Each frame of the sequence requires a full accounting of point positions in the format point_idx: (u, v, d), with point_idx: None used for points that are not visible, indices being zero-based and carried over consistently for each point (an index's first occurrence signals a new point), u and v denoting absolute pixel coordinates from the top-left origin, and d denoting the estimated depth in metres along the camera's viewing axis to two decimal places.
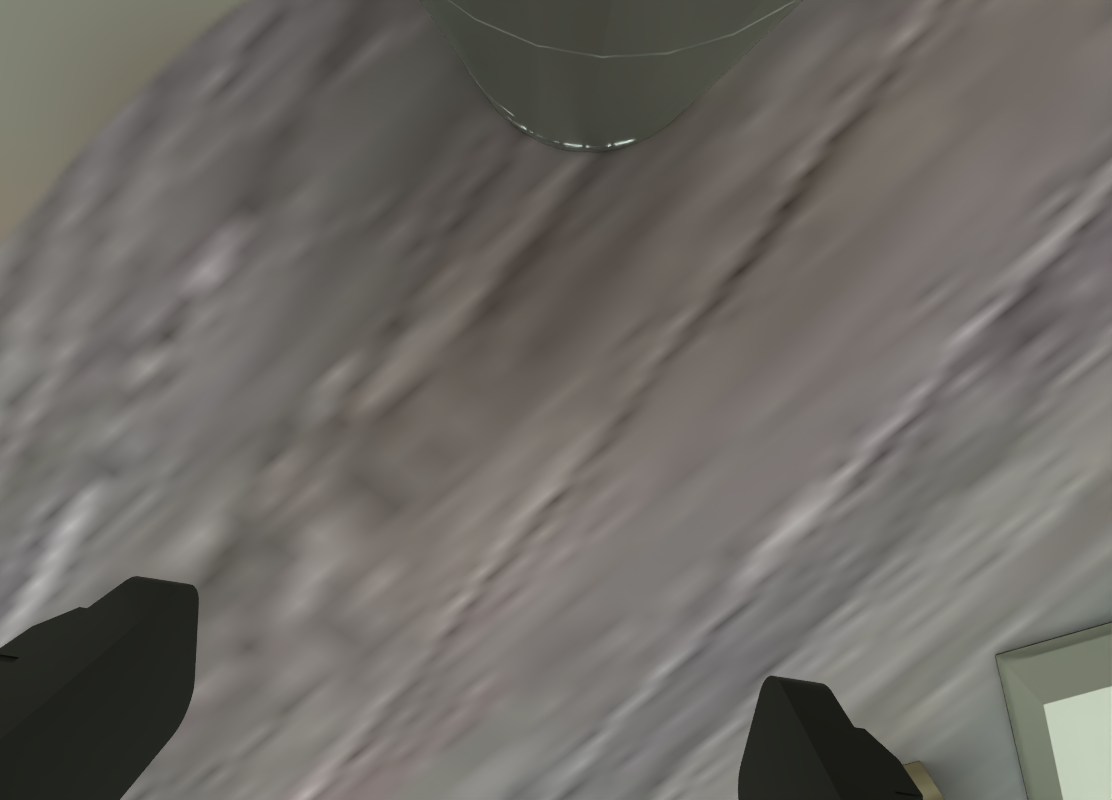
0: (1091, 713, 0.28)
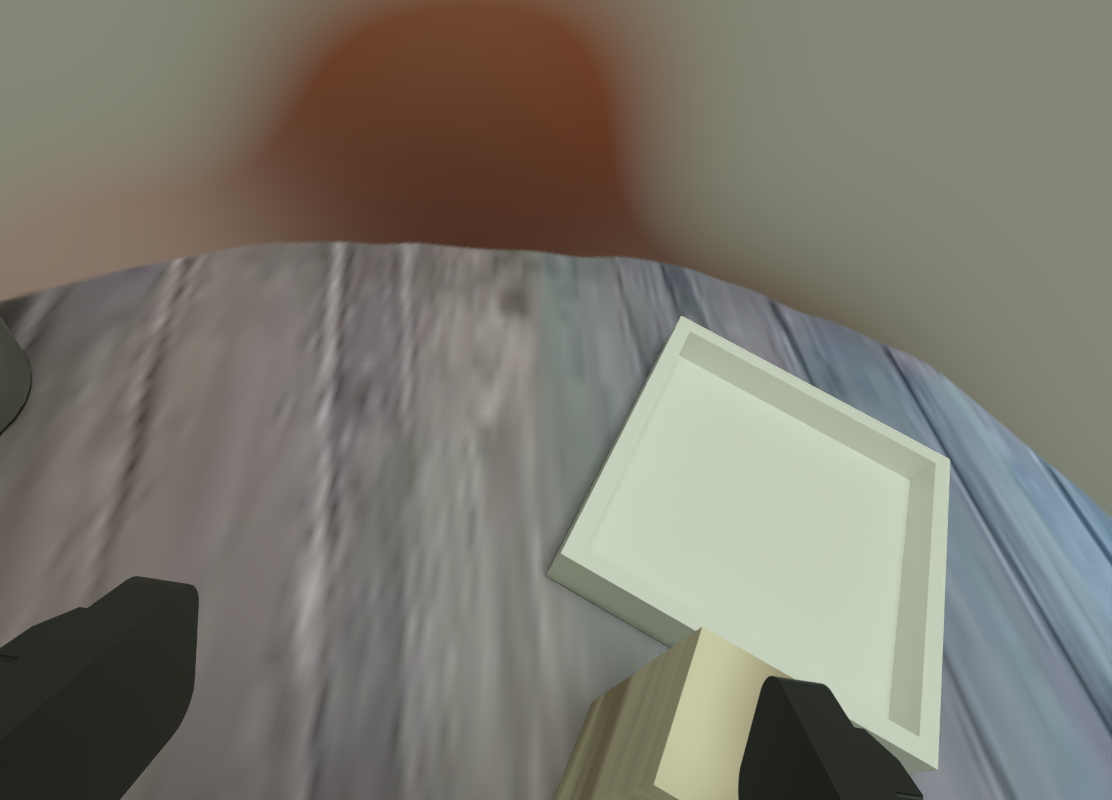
0: (635, 559, 0.34)
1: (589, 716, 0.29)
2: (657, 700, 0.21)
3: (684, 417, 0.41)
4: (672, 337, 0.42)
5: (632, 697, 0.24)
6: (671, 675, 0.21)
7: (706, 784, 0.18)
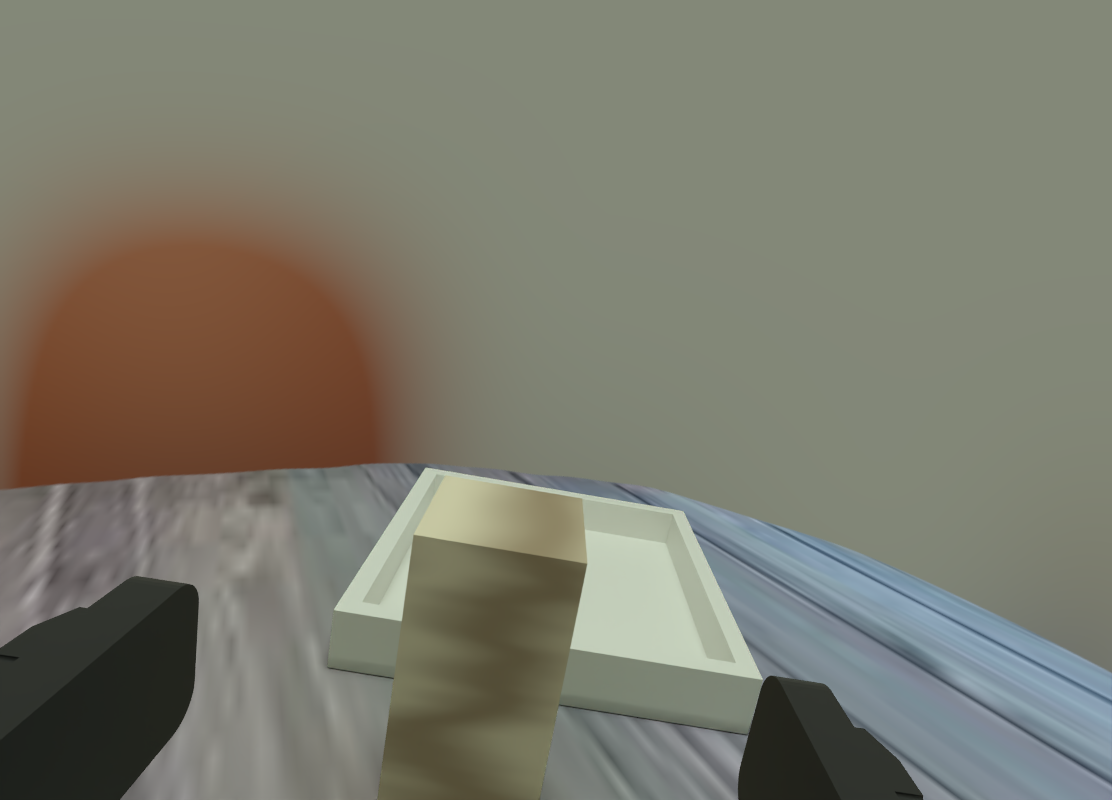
0: None
1: None
2: None
3: None
4: (420, 478, 0.46)
5: None
6: None
7: (466, 531, 0.19)
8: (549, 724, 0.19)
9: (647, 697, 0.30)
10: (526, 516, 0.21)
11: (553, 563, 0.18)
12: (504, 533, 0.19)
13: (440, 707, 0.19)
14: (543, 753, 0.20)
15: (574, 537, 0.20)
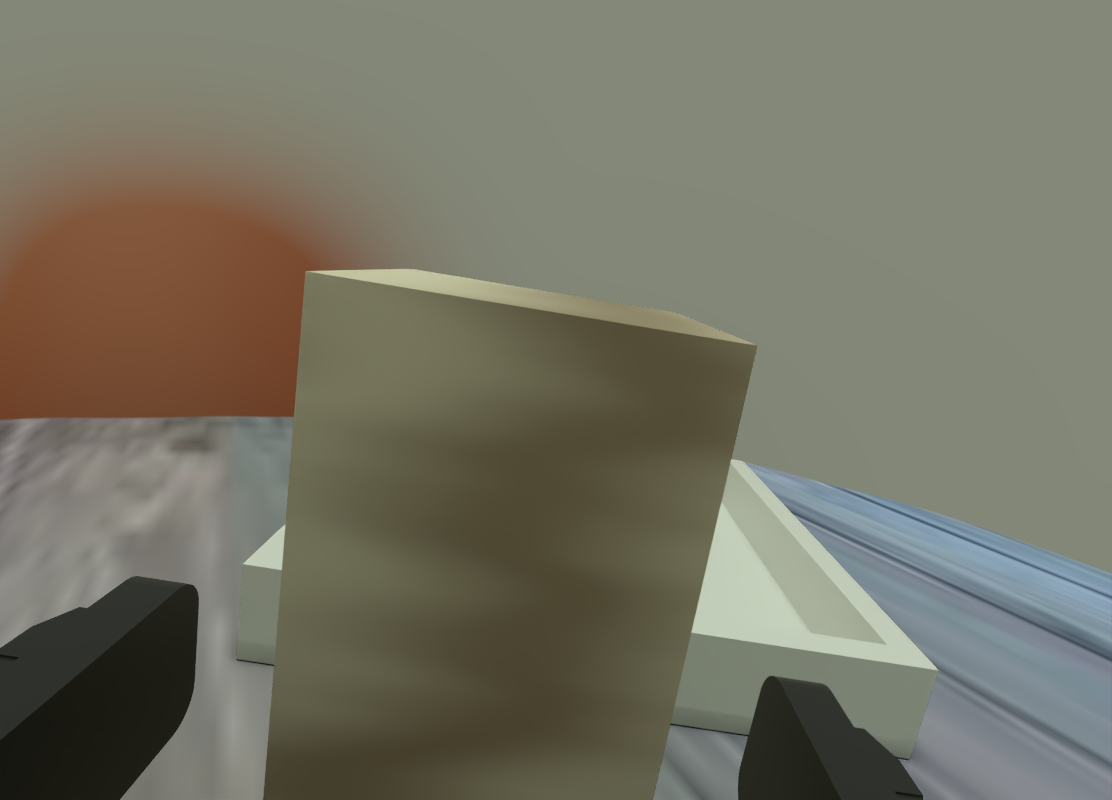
0: None
1: None
2: None
3: None
4: None
5: None
6: None
7: (447, 290, 0.08)
8: (649, 760, 0.08)
9: (751, 701, 0.19)
10: (579, 303, 0.10)
11: (669, 346, 0.07)
12: (537, 303, 0.08)
13: (390, 724, 0.08)
14: None
15: (695, 326, 0.09)
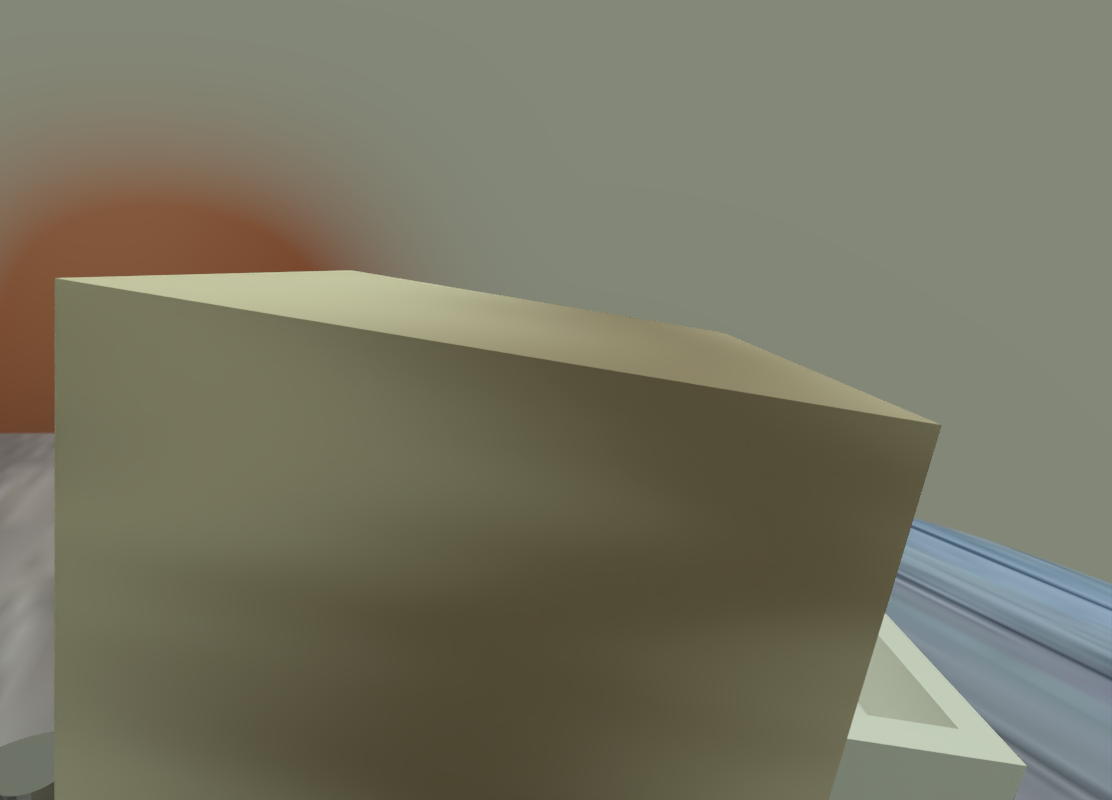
0: None
1: None
2: None
3: None
4: None
5: None
6: None
7: (355, 310, 0.04)
8: None
9: None
10: (588, 326, 0.06)
11: (772, 426, 0.04)
12: (518, 333, 0.05)
13: None
14: None
15: (783, 369, 0.05)
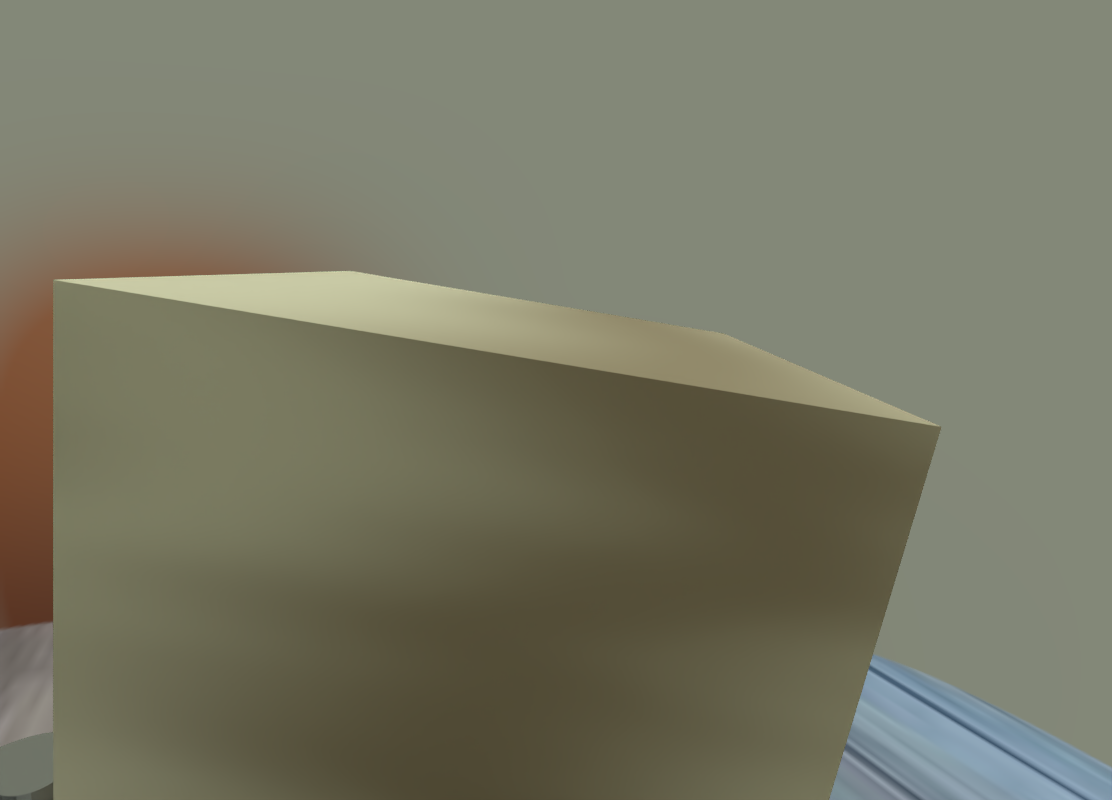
0: None
1: None
2: None
3: None
4: None
5: None
6: None
7: (354, 312, 0.04)
8: None
9: None
10: (589, 327, 0.06)
11: (770, 429, 0.04)
12: (518, 334, 0.05)
13: None
14: None
15: (783, 370, 0.05)
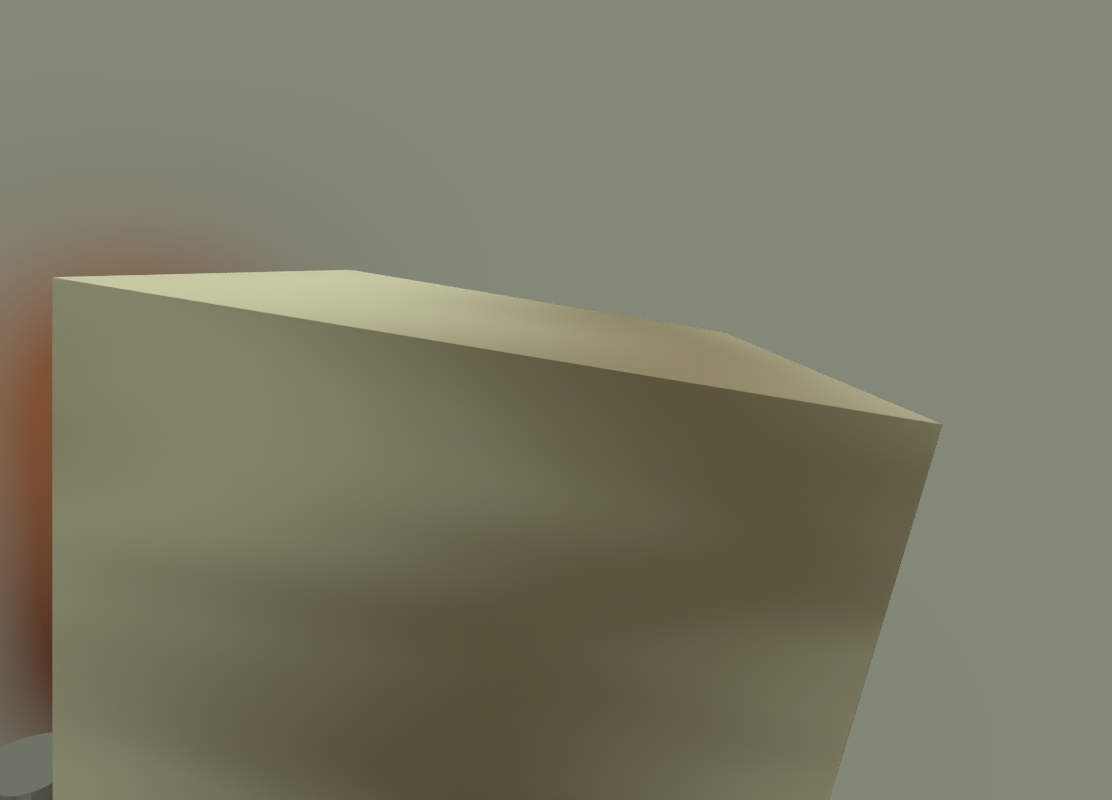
0: None
1: None
2: None
3: None
4: None
5: None
6: None
7: (353, 310, 0.04)
8: None
9: None
10: (588, 325, 0.06)
11: (771, 426, 0.04)
12: (519, 332, 0.05)
13: None
14: None
15: (784, 369, 0.05)
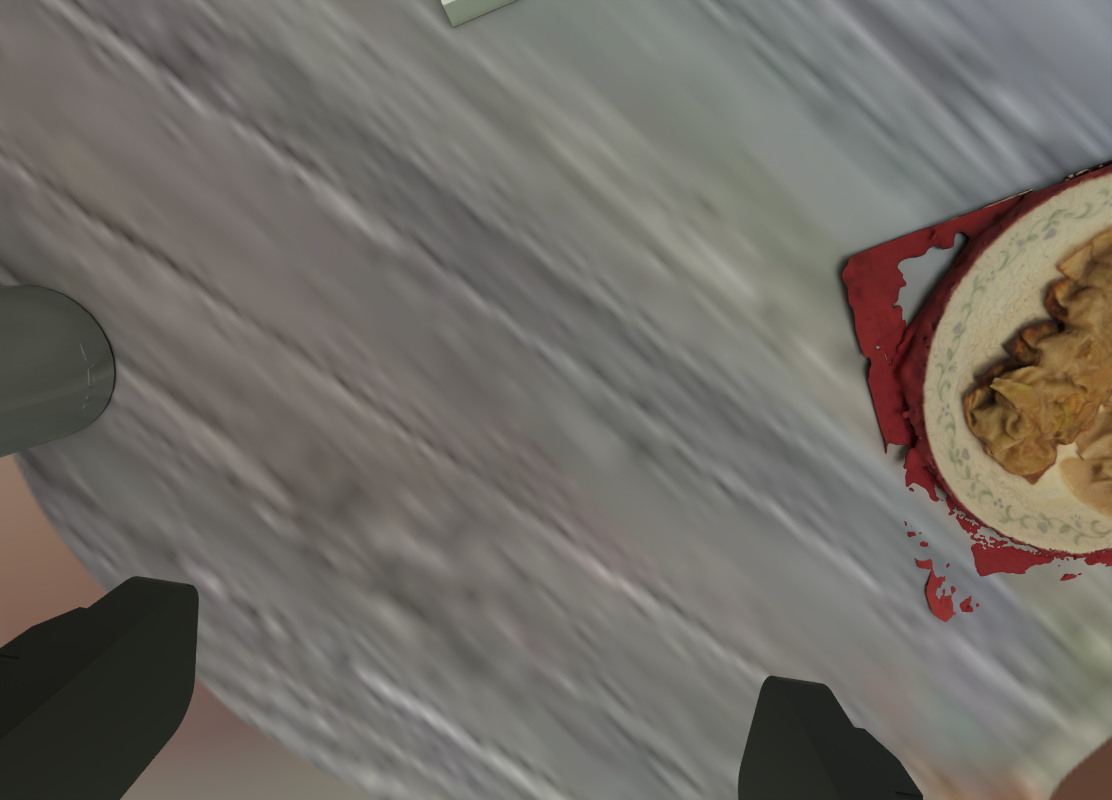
0: None
1: None
2: None
3: None
4: None
5: None
6: None
7: None
8: None
9: None
10: None
11: None
12: None
13: None
14: None
15: None
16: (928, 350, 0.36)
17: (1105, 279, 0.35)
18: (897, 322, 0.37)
